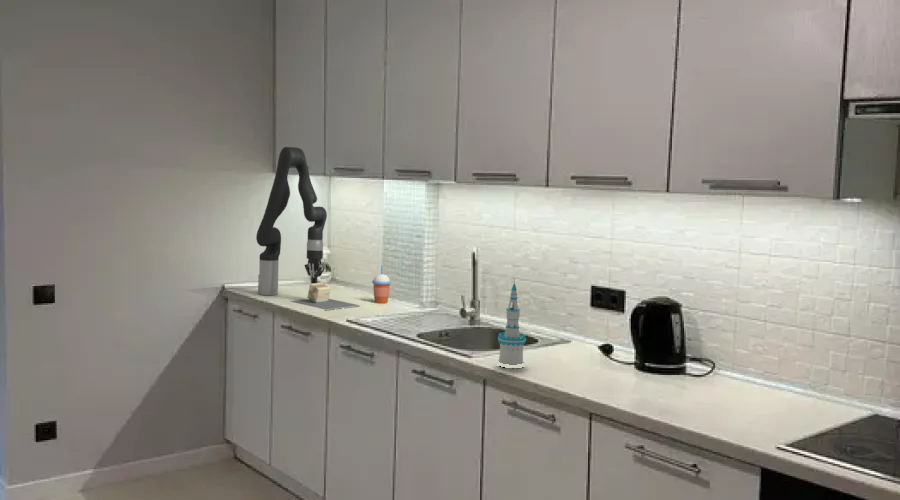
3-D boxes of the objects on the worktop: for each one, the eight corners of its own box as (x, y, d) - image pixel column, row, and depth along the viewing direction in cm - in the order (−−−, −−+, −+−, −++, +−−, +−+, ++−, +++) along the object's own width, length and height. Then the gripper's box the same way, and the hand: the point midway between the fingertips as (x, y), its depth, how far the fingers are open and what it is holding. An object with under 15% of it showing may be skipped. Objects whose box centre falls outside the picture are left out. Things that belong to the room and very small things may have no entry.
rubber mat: (289, 302, 405) (289, 301, 405) (323, 298, 420) (323, 297, 420) (325, 310, 387) (325, 309, 387) (359, 306, 401) (359, 305, 401)
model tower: (508, 370, 287) (512, 280, 284) (490, 363, 295) (493, 276, 292) (531, 367, 293) (535, 279, 290) (513, 360, 301) (517, 275, 298)
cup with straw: (382, 304, 409) (383, 267, 407) (367, 302, 414) (368, 265, 412) (394, 302, 416) (395, 265, 414) (379, 300, 421) (380, 263, 419)
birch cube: (307, 297, 406) (310, 283, 404) (319, 296, 412) (321, 282, 410) (316, 303, 402) (318, 289, 400) (327, 302, 407) (330, 288, 405)
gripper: (299, 247, 408) (299, 284, 410) (317, 250, 399) (316, 287, 401) (312, 247, 414) (311, 283, 415) (330, 249, 405) (329, 286, 406)
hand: (314, 285), depth 408 cm, fingers closed
